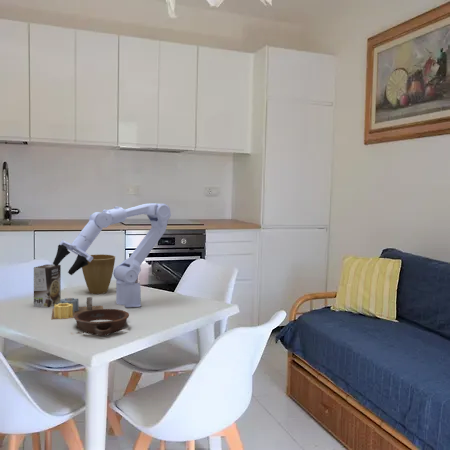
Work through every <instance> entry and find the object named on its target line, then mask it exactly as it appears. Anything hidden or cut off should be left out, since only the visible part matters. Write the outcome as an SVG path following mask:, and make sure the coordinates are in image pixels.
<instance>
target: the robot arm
mask: <svg viewBox="0 0 450 450" xmlns="http://www.w3.org/2000/svg"><path fill="white" fill-rule="evenodd" d="M139 215H140V216H141V215H146V216H147V218H148V220H149V222H150V225H151V228H150V229H149V230H148V232H147V233H145V235H144V237H143V239H141V241H140V243H139V244H138V245H137V246H136V248H135V249H134V251H133V252H132V253H131V254H130V256H129V257H128V258H126V259H124V260H123V261H122V262H121V263H120V264H119V265H116V267H114V269H113V274H112V276H113V277H114V279H115V280H116V281H115V283H116V284H115V289H116V290H115V293H116V294H115V296H116V297H115V298H116V300H115V303H116V304H117V305H121V306H124V308H125V309H126V308H138V307H139V308H141V307H142V305H141V301H142V298H141V297H142V294H141V291H142V290H141V288H142V287H141V283H140V282H137V280H138V277H139V273H140V272H141V270H142V269H141V268H142V267H141V265H142V263H143V262H144V261H145V260H146V259H147V257H149V254H150V253H151V252H152V251H153V249H154V248H155V246H156V245H157V243H158V242H159V240H160V239H161V238H162V236H163V235H165V232H166V231H167V228H168V227H167V226H168V222H169V219H170V218H171V216H172V213H171V208H170V206H169V204H166V203H155V202H151V203H143V204H139V205H136V206H132V207H129V208H126V209H125V208H123V207H121V206H118V205H117V206H114V208H112V209H111V208H110V209H103V210H102V212H100V211H95V212H93V213H92V214H90V215H89V216H88V217H89V218H88V222H87V223H86V224H85V225H84V227H83V228H82V230H81V231H80V232H79V233H78V235H77V236H76V237H75V238H74V240H73V241H72V242H68V241H65V240H64V239H62V240H61V241H60V242H59V244H58V245H57V251H56V255H55V257H54V259H53V262H52V265H55V266H57V265H60V263H61V262H62V261H63V259H65V257H67V256H68V255H70V254H71V252H72V253H73V254H75V255H77V257H76V258H75V260H74V262H73V263H72V266H71V267H70V268H69V269H68V271H67V273H68V274H69V275H70V276H73V275H74V274H75V273H76V272H77V271H79V270H80V269H82V267H84V266H86V265H88V261H89V262H91V261H92V259H93V257H92V256H91V255H92V254H88V253H87V250H88V249H89V248H90V246H91V245H92V244H93V242H94V241H95V240H96V239H97V237H98V236H99V235H100V232H102V230H103V229H106V228H108V227H109V226H112V225H116V224H120V223H124V222H125V221H126V220H127V218H130V217H135V216H139Z"/></svg>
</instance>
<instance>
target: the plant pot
mask: <svg viewBox="0 0 450 450" xmlns="http://www.w3.org/2000/svg"><path fill="white" fill-rule="evenodd" d="M90 255H91V256H92V257H93V259H92V261H91V262H89V261H88V265H86V266H84V267H82V268H81V270H82V274H83V278H84V281H85V284H86V287H87V290H88V292H89V294H91V295H104V294H107V293H108V290H109V287H110V285H111V281H112V277H113V272H114V269H115V262H116V261H115V260H116V256H115V255H112V254H104V253H103V254H98V253H97V254H90Z"/></svg>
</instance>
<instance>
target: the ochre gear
mask: <svg viewBox="0 0 450 450" xmlns="http://www.w3.org/2000/svg"><path fill="white" fill-rule="evenodd" d="M53 307H54V318H59V319H58V320H63V319H62V318H69V317H73V304H69V303H58V304H55V305H54V306H53Z"/></svg>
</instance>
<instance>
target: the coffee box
mask: <svg viewBox="0 0 450 450" xmlns="http://www.w3.org/2000/svg"><path fill="white" fill-rule="evenodd" d="M61 265H62V264H58V265H57V266H55V265H54V264H43V265H38V266H35V267H33V307H35V308H48V309H49V308H51V307H54V305H55V304H59V303H61V299H62V298H61V296H62V295H61V292H62V291H61V288H62V286H61V284H62V283H61V282H62V281H61V278H62V277H61V273H62V272H61V269H62V268H61Z"/></svg>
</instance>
